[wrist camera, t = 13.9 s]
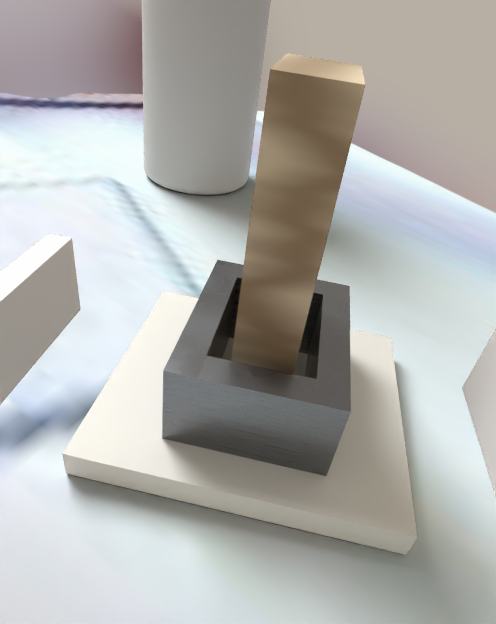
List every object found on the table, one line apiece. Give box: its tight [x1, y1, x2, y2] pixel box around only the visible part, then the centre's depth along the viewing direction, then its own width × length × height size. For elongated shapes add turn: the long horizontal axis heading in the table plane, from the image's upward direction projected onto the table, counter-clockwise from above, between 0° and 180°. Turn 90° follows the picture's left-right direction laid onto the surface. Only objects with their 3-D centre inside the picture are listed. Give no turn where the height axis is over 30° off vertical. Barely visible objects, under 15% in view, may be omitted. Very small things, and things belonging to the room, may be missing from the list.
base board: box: [63, 291, 417, 555], centre depth 26 cm, size 16×14×2 cm
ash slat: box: [231, 54, 365, 374], centre depth 21 cm, size 3×5×16 cm, turn 170°
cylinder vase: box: [142, 0, 271, 195], centre depth 47 cm, size 12×12×25 cm
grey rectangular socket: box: [162, 260, 351, 476], centre depth 24 cm, size 8×10×4 cm
